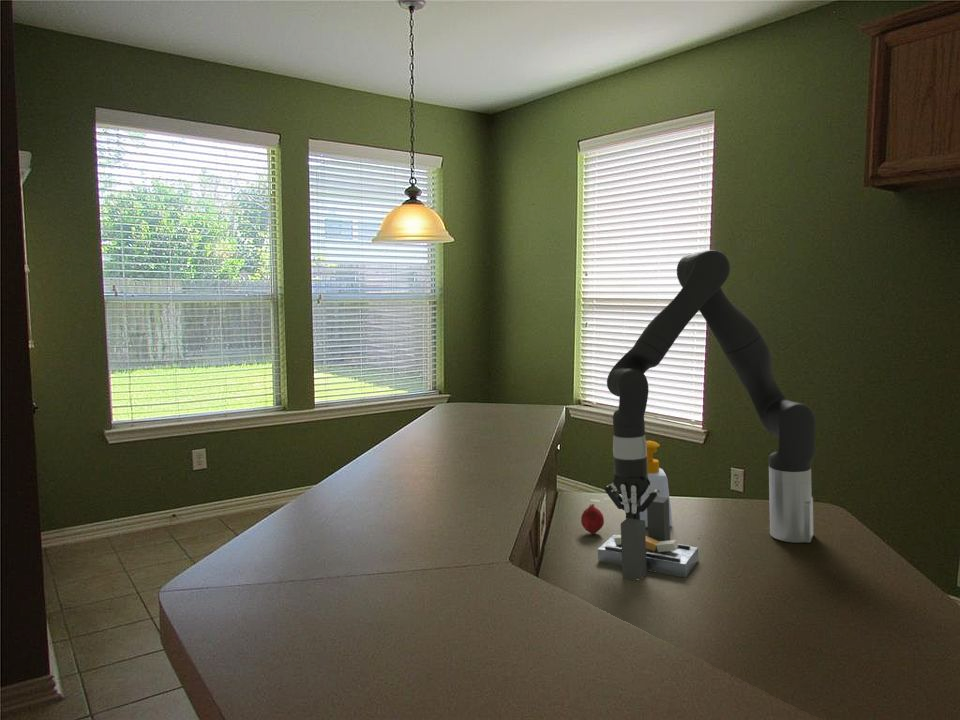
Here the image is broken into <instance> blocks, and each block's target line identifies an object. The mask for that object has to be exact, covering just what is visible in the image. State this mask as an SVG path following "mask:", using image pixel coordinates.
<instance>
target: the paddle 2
mask: <svg viewBox="0 0 960 720" xmlns="http://www.w3.org/2000/svg"><path fill="white" fill-rule="evenodd" d="M677 543H678V541H677V539H670V540H669V541H659V543H658V544H657V545H656V546H657V550H658V552H664V551H675V550H676V549H677V548H678V544H679V543H678V544H677Z"/></svg>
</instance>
